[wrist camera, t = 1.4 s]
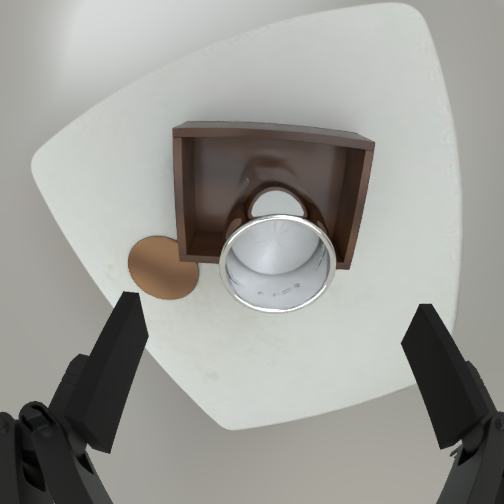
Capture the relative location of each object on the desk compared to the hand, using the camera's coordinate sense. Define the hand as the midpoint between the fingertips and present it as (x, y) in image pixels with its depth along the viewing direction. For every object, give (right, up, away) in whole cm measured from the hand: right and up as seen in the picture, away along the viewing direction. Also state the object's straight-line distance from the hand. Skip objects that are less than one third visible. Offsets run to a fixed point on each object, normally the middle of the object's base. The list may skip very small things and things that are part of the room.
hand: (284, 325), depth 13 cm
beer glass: (0, +10, +17) cm, 19 cm away
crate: (0, +10, +17) cm, 20 cm away
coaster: (-12, +1, +22) cm, 25 cm away
